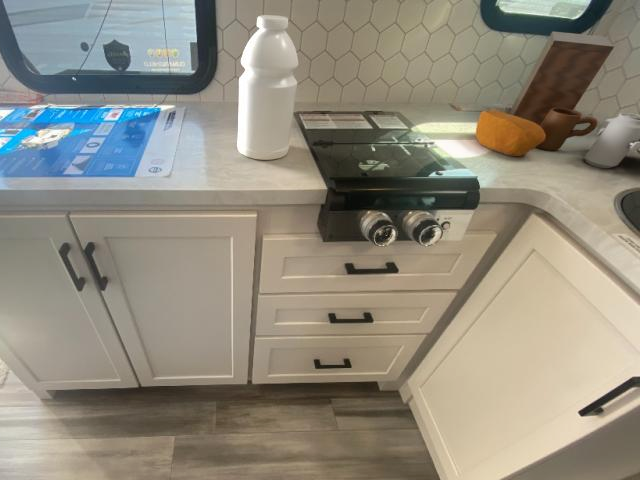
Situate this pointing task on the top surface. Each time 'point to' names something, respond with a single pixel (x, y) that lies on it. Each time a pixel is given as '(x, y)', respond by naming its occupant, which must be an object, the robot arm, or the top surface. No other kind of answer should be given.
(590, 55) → the wooden board
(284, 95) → the bottle
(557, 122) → the mug
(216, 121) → the top surface
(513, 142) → the bread
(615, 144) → the can
